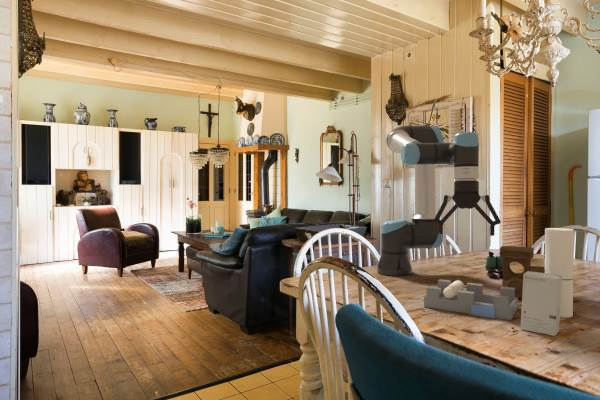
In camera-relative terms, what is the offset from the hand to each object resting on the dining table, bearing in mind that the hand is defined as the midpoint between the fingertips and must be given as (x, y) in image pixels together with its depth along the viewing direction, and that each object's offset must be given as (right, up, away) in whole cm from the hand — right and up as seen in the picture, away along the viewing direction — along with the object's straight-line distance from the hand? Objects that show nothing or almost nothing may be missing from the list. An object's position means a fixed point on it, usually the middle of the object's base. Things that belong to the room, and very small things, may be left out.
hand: (466, 245), depth 136 cm
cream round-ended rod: (-5, -15, -4) cm, 17 cm away
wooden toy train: (+25, -19, +5) cm, 31 cm away
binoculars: (+28, -18, +36) cm, 48 cm away
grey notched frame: (-1, -19, -6) cm, 20 cm away
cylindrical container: (+22, -19, -14) cm, 32 cm away
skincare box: (+8, -20, -28) cm, 35 cm away
